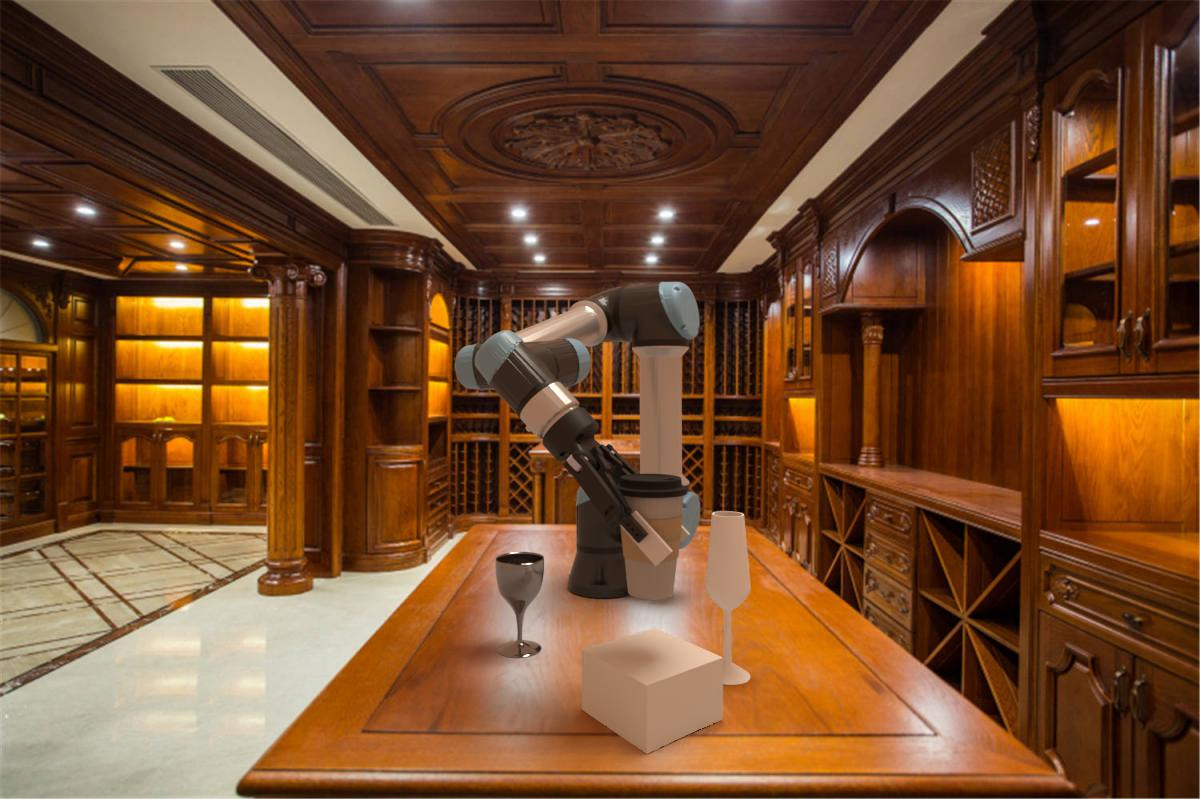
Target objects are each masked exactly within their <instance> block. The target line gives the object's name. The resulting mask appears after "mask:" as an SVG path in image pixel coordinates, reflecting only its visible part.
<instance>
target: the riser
mask: <svg viewBox="0 0 1200 799" xmlns="http://www.w3.org/2000/svg"><path fill="white" fill-rule="evenodd" d="M723 661H724V656H723V657H722V656H720V655H719V654H716V653H713V652H712V651H709V650H707V649H705V648H702V647H700V646H698V645H696V644H694V643H691V642H689V641H686V640H684V639H682V638H680V637H677V636H674V635H673V634H670V633H668V632H667V631H666V632H665V631H663V630H662V629H659V628H656V627H653V628H650V629H646V630H643V631H640V632H635V633H632V634H630V635H627V636H623V637H619V638H615V639H612V640H609V641H606V642H603V643H598V644H595V645H592V646H589V647H586V648H582V649H581V710H582V711H583V712H585V713H586V714H587V715H589V716H591V717H592V718H593V719H595V720H597V721H598V722H599V723H600V724H602V725H603V726H605V727H606V726H607V727H606V728H608V729H610V730H611V731H612V732H614V733H615V734H617V735H618V736H619V737H621V738H622V739H623V740H625V741H626V742H628V743H629V744H631V745H632V746H634V747H635V746H636V748H637V749H639V750H640V751H641V750H642V751H641V752H643V753H644V754H646V755H648V753H649V754H650V752H651V751H653V752H655V751H657V750H659V748H660V747H662V746H664V747H666V746H668V745H670V744H669V743H671V742H673V741H675V740H677V739H679V738H681V737H683V736H685V735H688V734H690V733H692V732H694V731H696V730H698V729H701V730H703V729H702V728H704V727H706V728H708V727H710V726H713V725H714V724H713V723H715V724H717V723H719V722H721V721H723V720H724V684H723ZM716 722H717V723H716ZM709 725H710V726H709ZM707 726H708V727H707ZM704 729H705V728H704ZM690 735H691V734H690ZM688 736H689V735H688ZM679 740H680V739H679ZM677 741H678V740H677ZM675 742H676V741H675ZM673 743H674V742H673ZM667 744H668V745H667ZM671 744H672V743H671ZM665 745H666V746H665ZM662 748H663V747H662ZM660 749H661V748H660ZM654 750H655V751H654ZM651 753H652V752H651Z"/></svg>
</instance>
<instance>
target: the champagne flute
mask: <svg viewBox="0 0 1200 799" xmlns="http://www.w3.org/2000/svg"><path fill="white" fill-rule="evenodd" d="M710 520H711V521H710V527H709V529H710V531H709V540H708V550H707V559H706V560H707V561H706V571H705V581H704V588H705V591H706V593H707V596H709V598H710V599H711V600H712V601H713V603H715V604H716V605H717V607H719V608H720V609H722V610H723V685H727V686H735V685H736V686H737V685H742V684H743V685H744V684H746V683H747V682H749V681H750V679H751V674H750V672H749V671H747V670H746V669H744V668H742V667H740V666H739V665H737V664H736V663H734V662H732V660H733V659H732V656H733V654H732V653H733V651H732V650H733V646H732V644H733V642H732V639H733V636H732V631H733V627H732V625H733V623H732V622H733V621H732V619H733V618H732V615H733V614H732V613H733V612H732V611H733V610H735V609H737V608H738V607H739V606H740V605H742V604H743V603H744V602H745V601H746V600H747V598H748V597H749V595H750V593H751V590H752V587H751V586H752V585H751V575H750V566H749V565H750V564H749V554H748V553H749V552H748V543H747V542H748V541H747V531H746V521H745V514H744V513H743V512H738V511H731V510H730V511H729V510H720V511H719V510H717V511H713V512H711V518H710Z"/></svg>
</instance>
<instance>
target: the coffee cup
mask: <svg viewBox="0 0 1200 799" xmlns="http://www.w3.org/2000/svg"><path fill="white" fill-rule="evenodd" d="M617 487H618V488H619V490H620V491H621V493H622V495H623V496H624V498H625V500H626V501H627V503H628V504H629V506H630V508H631V509H632V513H634V512H635V511H636V510H637V511H638V512H639V514H640V515H641V516H642V517H643V518H644V519H645V520H646V521H647V523H648V524H649V525H650V526H651V527H652V528H653V529H654V530H655V531H656V533H657V534H658V535H659V536H660V537H661V538H662V539H663V540H664V541H665V543H666V544H667V545H668V546H669V547H670V548H671V549H672V550H673V551H672V552H671V553H670V554H669V555H668V556H667V557H666V558H665V559H664V560H663V561H661V562H660V563H659V564H658V565H657V566H655V565H654V564H653V563H652V562H651V561H650V559H649V558H648V557H647V556H646V555H645V554H644V553H643V552H642V550H641V549H640V548H639V547H638V546H637V545H636V544H635V542H634V541H633V540H632V539H631V538H630V537H629V536H628V534H627V533H626V532H625V531H624V530H623V529H622V528H621V536H622V547H623V556H624V557H625V567H626V577H627V587H628V593H629V594H630V595H629V596H632V597H634V598H637V599H642V600H648V601H649V600H650V601H651V600H663V599H667V598H670V597H672V595H673V594H674V589H675V582H676V574H677V573H676V572H677V562H678V558H679V555H680V549H679V547H680V537H681V528H682V518H683V514H682V507H683V497H684V495H686V494H687V492H686V486H684V485H682V480H681V477H679V476H675V475H668V474H640V473H639V474H629V475H623V476H621V477H620V484H617ZM632 513H631V514H632ZM620 525H621V524H620Z"/></svg>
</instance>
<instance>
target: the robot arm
mask: <svg viewBox="0 0 1200 799" xmlns="http://www.w3.org/2000/svg"><path fill="white" fill-rule="evenodd" d="M699 328H700V313H699V307H698V303H697V300H696V298H695V296H694V293H693V291H692V290H691V288H690V287H689V286H688V285H687V284H685V283H684V282H681V281H661V282H653V283H646V284H635V285H627V286H625V285H624V286H617V287H616V286H615V287H613V288H609V289H607V290H604V291H601V292H598V293H596V294H593V295H591V296H589V297H587V298H584V299H582V300H578V301H577V302H575V303H573V305H571V306H570V307H569V309H568V311H565V312H563V313H561V314H558V315H555V316H552V317H550V318H548V319H545V320H543V321H540V322H538V323H536V324H534V325H531V326H529V327H526V328H523V329H521V330H518V331H517V332H514V331H512V330H509V329H507V330H506V329H505V330H504V329H503V330H501V331H499V332H496V333H494V334H493V335H491V336H489V337H488V338H487V339H486V340H485V341H484V342H483V343H482V344H481V343H475V344H470V345H469V344H468V345H465V346H464V347H462V348H461V349H460V350H459V351H458V352H457V354H456V355H455V360H454V361H455V362H454V371H455V374H456V375H455V376H456V378H457V380H458V382H459V383H460V385H462V386H463V387H464V388H466V389H469V390H480V391H482V392H484V391H488V390H489V391H492V390H493V391H495V392H496V393H497V394H498V395H499V396H500V398H502V400H503V401H504V402H505V403H506V404H507V406H509V407H510V408H511V410H513V411H514V413H515V414H516V415H517V417H518V418H519V419H520V420H521V421H522V422H523V423H524V424H525V425H526V426H525V430H526V431H527V432H528V433H529V432H530V433H532V434H534V436H535V437H536V438H537V439H539V440H542V442H541V443H542V446H543V447H544V448H545V449H546V450H547V451H548V453H550V455H551V456H552V457H553V458H554V459H555V460H556V461H557V462H562V466H563V467H564V469H566V471H568V473H569V474H570V475H571V476H572V477H573V478H574V479H575V481H576V482H577V483H578V485H579V487H578V489H577V491H576V499H575V500H576V502H575V508H576V509H575V514H576V515H575V516H576V520H575V522H576V526H575V527H576V552H575V556H574V559H573V562H572V566H571V569H570V573H569V575H568V584H567V585H568V590H569V591H570V592H571V593H573V594H575V595H578V596H581V597H585V598H593V599H614V598H619V597H620V598H621V597H625V596H631V595H630V594H629V593H628V587H627V577H626V567H625V557H624V556H623V547H622V536H621V528H622V529H623V530H624V531H625V532H626V533H627V534H628V536H629V537H630V538H631V539H632V540H633V541H634V542H635V544H636V545H637V546H638V547H639V548H640V549H641V550H642V552H643V553H644V554H645V555H646V556H647V557H648V558H649V559H650V561H651V562H652V563H653V564H654V565H655V566H657V565H658V564H659V563H660V562H661V561H663V560H664V559H665V558H666V557H667V556H668V555H669V554H670V553H671V552H672V551H673V550H672V549H671V548H670V547H669V546H668V545H667V544H666V543H665V541H664V540H663V539H662V538H661V537H660V536H659V535H658V534H657V533H656V531H655V530H654V529H653V528H652V527H651V526H650V525H649V524H648V523H647V521H646V520H645V519H644V518H643V517H642V516H641V515H640V514H639V512H638V511H637V510H636V511H635V512H634V513H632V509H631V508H630V506H629V504H628V503H627V501H626V500H625V498H624V496H623V495H622V493H621V491H620V490H619V488H618V487H617V484H620V477H621V476H623V475H629V474H668V475H675V476H679V477H681V480H682V485H684V486H686V492H687V494H686V495H684V497H683V507H682V514H683V518H682V528H681V537H680V547H679V550H683V549H684V548H686V547H687V546H688V545H689V544H690V543H691V542H692V541H693V538H695V534H696V532H697V529H698V526H699V521H700V516H701V502H700V497H699V496H698V494H697V493H695V492H694V491H691V490H690V480H689V479H688V478H686V476H684V474H683V434H682V433H683V424H682V422H683V421H682V419H683V412H682V411H683V409H682V408H683V405H682V400H683V399H682V397H683V396H682V395H683V394H682V392H683V391H682V390H683V389H682V387H683V386H682V378H683V377H682V357H684V355H685V353H686V352H687V351H688V350H689V349H690V340H693V339H695V338H696V337H697V336H698V334H699ZM620 342H621V343H622V342H627V343H629V342H630V343H631V346H632V347H631V350H632V351H633V352H634V353H635V354H636V355H637V356H638V358H639V459H640V460H639V471H637V470H636V469H635V468H634V467H633V466H632V465H631V464H629V462H628V461H627V460H626V459H625V458H624V457H623V456H621V454H619V452H618V451H617V450H616V448H614V446H613V445H612V444H610V443H608V444H606V445H604V444H603V443H601V444H600V443H599V442H598V441H597V440H596V439H595V435H596V433H597V432H598V430H599V423H598V421H597V420H595V418H594V417H593V416H592V415H591V414H590V412H588V411H587V409H585V407H581V406H580V402H579V401H578V399H577V398H575V396H574V395H573V394H572V393H571V392H570V391H569V390H568V389H567V388H572V387H573V386H575V385H577V384H580V383H581V382H583V381H584V380H585V379H586V378H587V376H588V375H589V373H590V371H591V365H592V362H591V361H592V359H591V355H590V352H589V349H588V348H589V347H590V348H592V347H595V346H597V345H599V344H602V343H603V344H604V343H620ZM587 347H588V348H587ZM631 513H632V514H631ZM620 524H621V525H620Z"/></svg>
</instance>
